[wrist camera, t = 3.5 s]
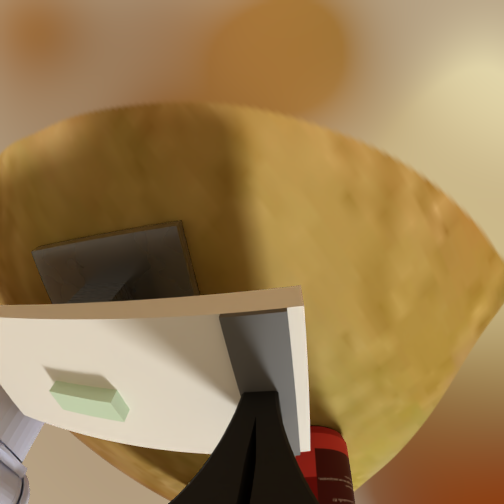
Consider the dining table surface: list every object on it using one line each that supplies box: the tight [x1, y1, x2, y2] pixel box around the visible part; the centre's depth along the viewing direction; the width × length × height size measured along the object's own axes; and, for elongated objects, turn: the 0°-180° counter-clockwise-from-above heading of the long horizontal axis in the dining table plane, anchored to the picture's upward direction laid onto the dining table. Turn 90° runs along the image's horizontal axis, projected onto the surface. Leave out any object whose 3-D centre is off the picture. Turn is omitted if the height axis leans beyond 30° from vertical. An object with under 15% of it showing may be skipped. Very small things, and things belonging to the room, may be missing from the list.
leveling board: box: [0, 285, 310, 456], centre depth 12 cm, size 20×9×3 cm, turn 99°
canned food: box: [295, 426, 355, 504], centre depth 16 cm, size 8×8×11 cm
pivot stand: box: [32, 220, 200, 304], centre depth 15 cm, size 10×12×4 cm
